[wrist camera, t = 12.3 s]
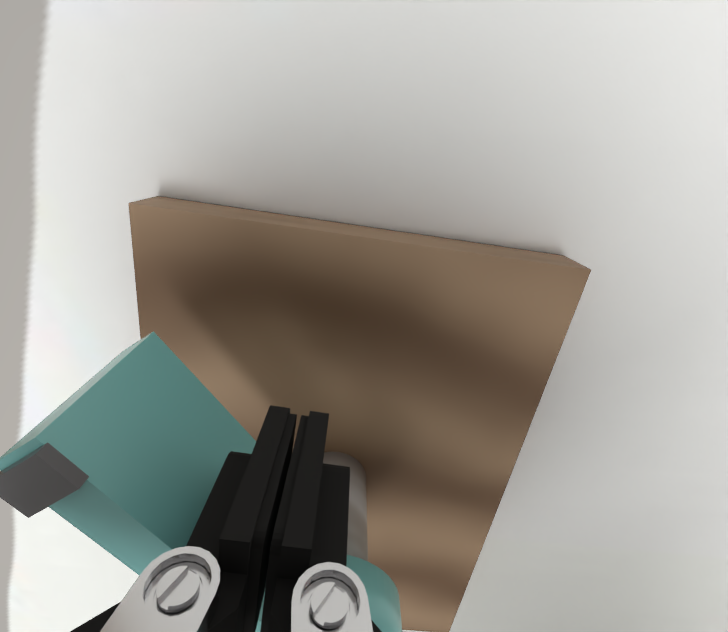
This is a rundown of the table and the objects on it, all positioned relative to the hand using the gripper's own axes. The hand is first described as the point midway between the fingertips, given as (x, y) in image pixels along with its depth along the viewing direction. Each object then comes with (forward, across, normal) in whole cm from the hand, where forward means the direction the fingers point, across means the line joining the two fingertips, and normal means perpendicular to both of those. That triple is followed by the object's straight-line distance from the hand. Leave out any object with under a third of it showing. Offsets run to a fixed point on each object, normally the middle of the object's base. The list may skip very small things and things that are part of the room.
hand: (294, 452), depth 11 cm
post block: (+7, -2, +6) cm, 9 cm away
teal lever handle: (+2, +1, +3) cm, 4 cm away
